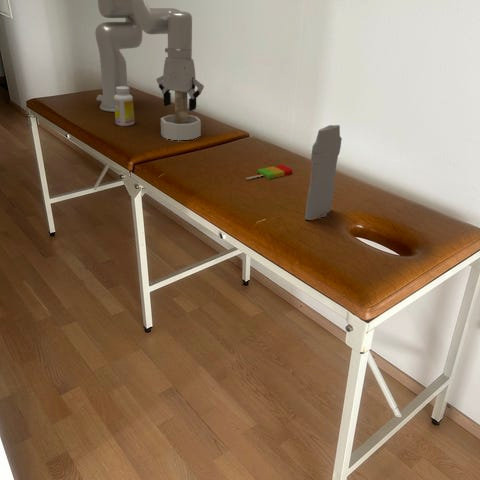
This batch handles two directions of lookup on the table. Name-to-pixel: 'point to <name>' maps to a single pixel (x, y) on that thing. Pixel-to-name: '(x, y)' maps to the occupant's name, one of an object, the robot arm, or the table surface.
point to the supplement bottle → (123, 106)
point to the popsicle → (273, 172)
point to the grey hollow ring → (180, 128)
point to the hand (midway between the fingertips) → (179, 107)
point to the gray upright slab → (323, 172)
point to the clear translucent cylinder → (180, 107)
